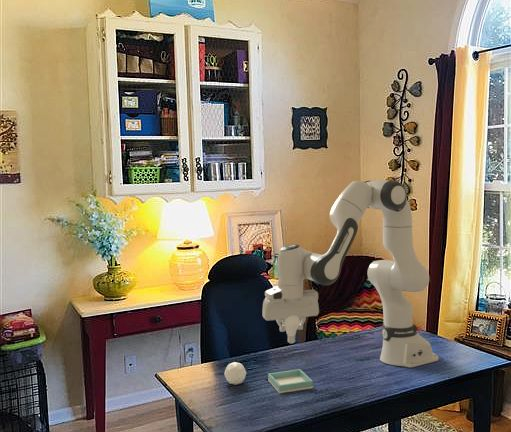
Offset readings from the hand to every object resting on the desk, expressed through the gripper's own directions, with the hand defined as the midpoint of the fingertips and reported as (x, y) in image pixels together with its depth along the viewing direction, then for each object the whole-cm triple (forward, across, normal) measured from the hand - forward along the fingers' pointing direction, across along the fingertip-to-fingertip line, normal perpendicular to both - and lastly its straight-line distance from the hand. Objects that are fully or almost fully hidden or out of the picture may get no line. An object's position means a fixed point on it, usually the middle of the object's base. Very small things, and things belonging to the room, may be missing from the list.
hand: (291, 330), depth 203 cm
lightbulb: (+5, 0, 0) cm, 5 cm away
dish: (+20, 0, -1) cm, 20 cm away
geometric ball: (+20, +18, -9) cm, 29 cm away
